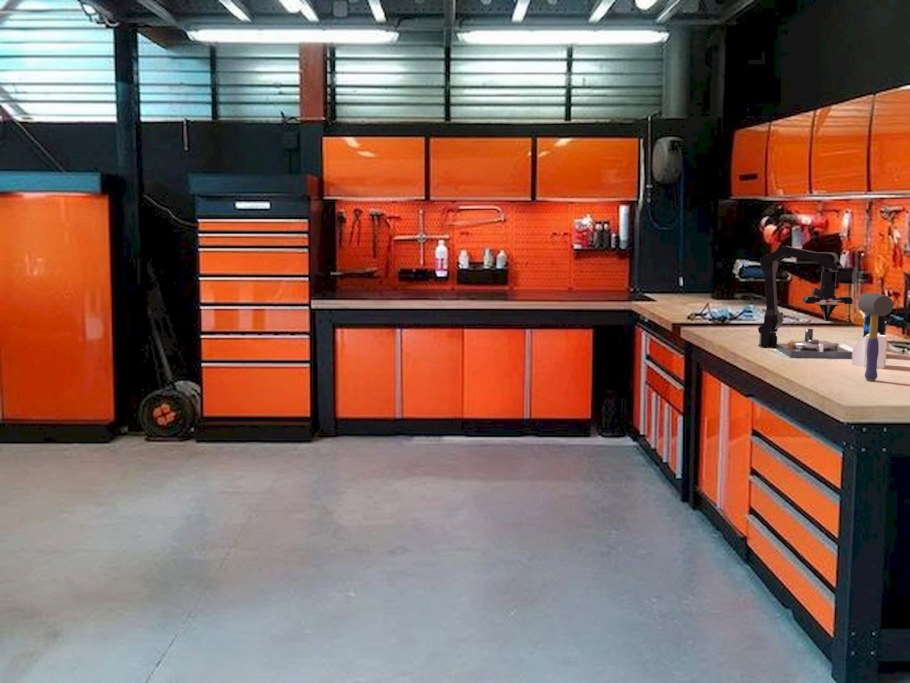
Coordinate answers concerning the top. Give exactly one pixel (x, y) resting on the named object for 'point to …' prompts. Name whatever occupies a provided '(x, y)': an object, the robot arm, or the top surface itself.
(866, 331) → the aerosol can
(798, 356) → the index base
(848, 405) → the top surface
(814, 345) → the sprocket
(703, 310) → the top surface
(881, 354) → the corner bracket
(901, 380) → the top surface
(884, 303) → the rubber mallet
